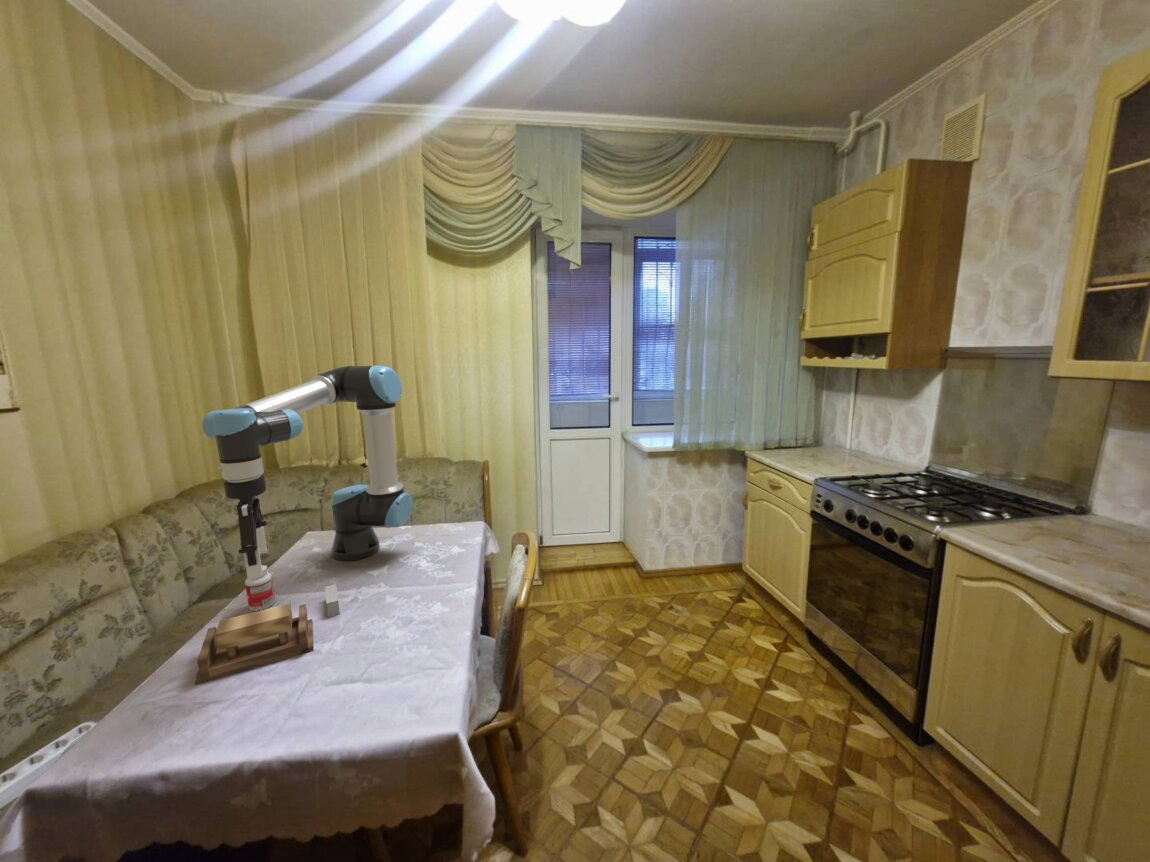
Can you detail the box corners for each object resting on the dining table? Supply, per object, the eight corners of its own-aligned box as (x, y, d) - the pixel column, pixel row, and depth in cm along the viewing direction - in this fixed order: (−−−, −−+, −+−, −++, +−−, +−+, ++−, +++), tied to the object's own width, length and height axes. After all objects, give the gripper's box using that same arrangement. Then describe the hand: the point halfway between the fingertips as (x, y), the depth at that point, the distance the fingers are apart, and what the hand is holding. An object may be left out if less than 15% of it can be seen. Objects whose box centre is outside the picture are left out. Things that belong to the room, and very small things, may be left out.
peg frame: (206, 650, 109) (202, 630, 108) (312, 622, 120) (310, 603, 119) (195, 685, 98) (191, 662, 97) (313, 650, 108) (310, 629, 107)
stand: (326, 599, 130) (324, 586, 129) (337, 596, 132) (336, 584, 131) (328, 617, 122) (326, 603, 121) (339, 614, 123) (338, 600, 122)
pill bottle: (254, 601, 130) (249, 565, 128) (278, 598, 131) (273, 562, 129) (245, 613, 124) (239, 575, 122) (270, 610, 125) (265, 572, 123)
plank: (292, 617, 114) (290, 603, 113) (291, 630, 109) (289, 615, 108) (222, 636, 107) (219, 620, 106) (218, 650, 102) (215, 634, 101)
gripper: (231, 467, 112) (244, 547, 116) (213, 496, 91) (231, 593, 95) (267, 462, 115) (279, 541, 120) (259, 490, 94) (274, 584, 98)
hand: (258, 564), depth 107 cm, fingers open, 13 cm apart
